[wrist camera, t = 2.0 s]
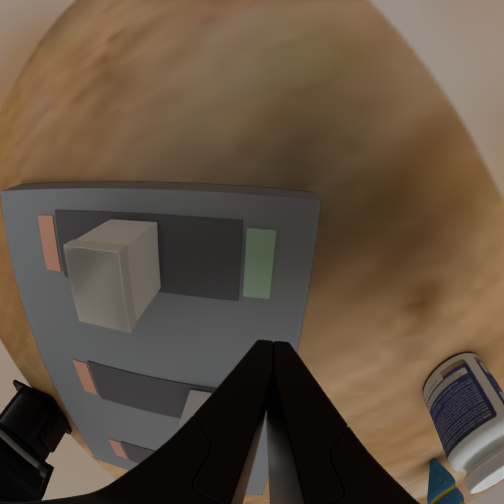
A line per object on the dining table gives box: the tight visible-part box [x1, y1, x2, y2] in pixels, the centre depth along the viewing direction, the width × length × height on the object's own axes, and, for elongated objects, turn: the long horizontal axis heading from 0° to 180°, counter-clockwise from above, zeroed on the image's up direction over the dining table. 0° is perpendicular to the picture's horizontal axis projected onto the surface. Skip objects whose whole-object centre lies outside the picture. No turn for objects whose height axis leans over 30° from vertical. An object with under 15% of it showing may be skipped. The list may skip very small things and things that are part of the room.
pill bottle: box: [423, 353, 504, 494], centre depth 13 cm, size 5×5×10 cm
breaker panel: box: [0, 181, 321, 495], centre depth 18 cm, size 18×28×2 cm, turn 176°
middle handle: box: [175, 390, 212, 433], centre depth 15 cm, size 2×3×4 cm
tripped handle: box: [63, 219, 161, 333], centre depth 12 cm, size 2×3×4 cm
